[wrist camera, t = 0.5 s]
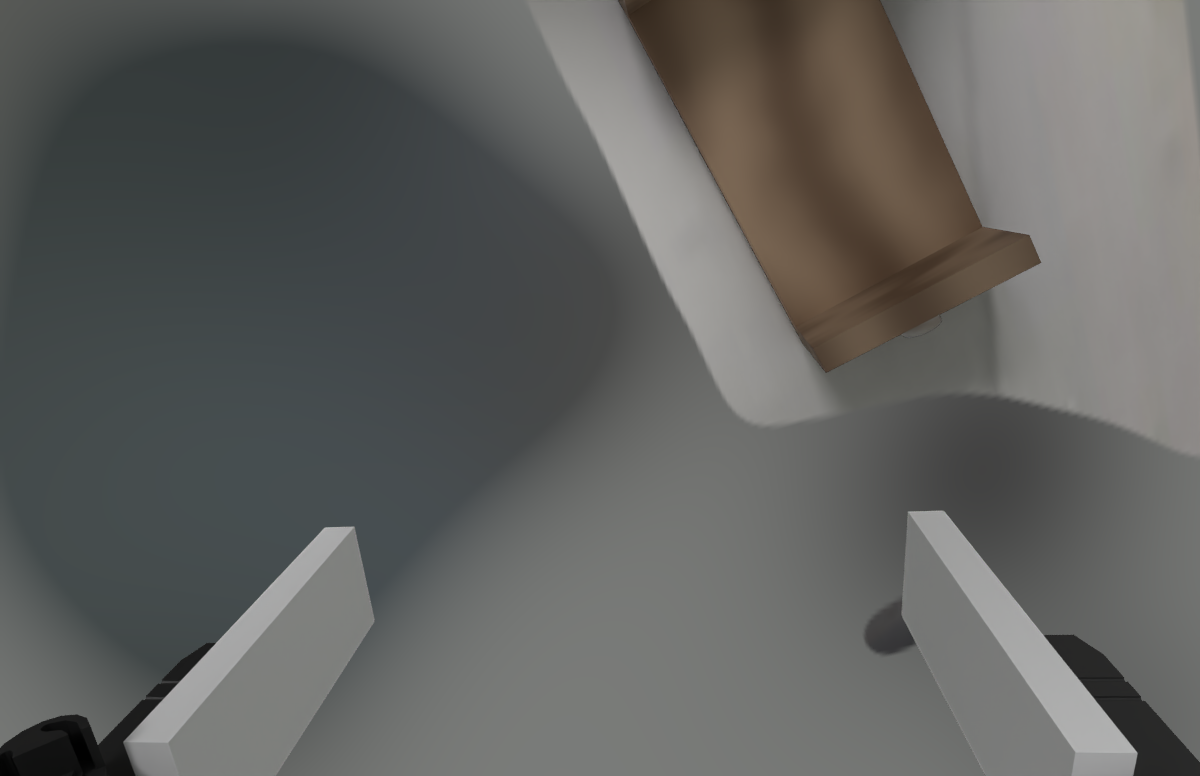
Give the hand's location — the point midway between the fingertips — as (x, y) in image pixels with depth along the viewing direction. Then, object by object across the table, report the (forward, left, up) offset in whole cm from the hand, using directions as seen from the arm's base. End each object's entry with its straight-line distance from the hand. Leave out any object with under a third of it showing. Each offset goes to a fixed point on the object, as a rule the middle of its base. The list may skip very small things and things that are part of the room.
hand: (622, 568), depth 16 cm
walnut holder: (-11, +9, -27) cm, 30 cm away
